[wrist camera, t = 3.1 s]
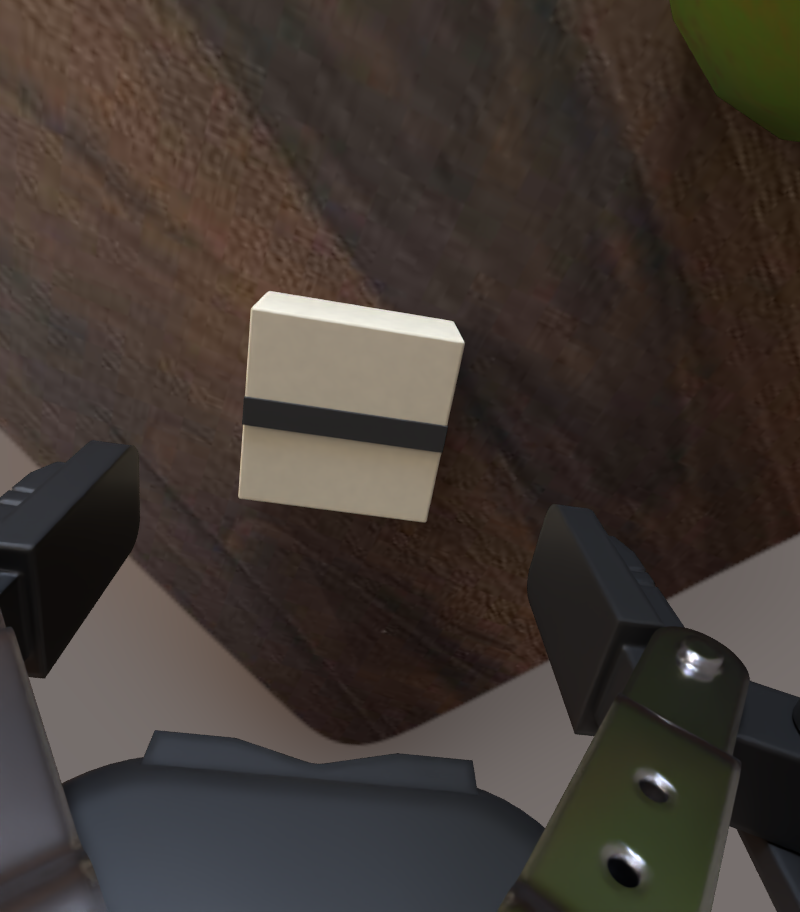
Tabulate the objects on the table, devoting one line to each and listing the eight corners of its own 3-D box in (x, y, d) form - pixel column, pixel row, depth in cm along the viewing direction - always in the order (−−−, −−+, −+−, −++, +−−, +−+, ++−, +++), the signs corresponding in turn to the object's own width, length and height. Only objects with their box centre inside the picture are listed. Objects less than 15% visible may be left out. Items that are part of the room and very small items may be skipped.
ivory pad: (254, 461, 20) (236, 500, 18) (267, 289, 18) (249, 308, 15) (420, 484, 21) (426, 525, 18) (454, 320, 18) (466, 342, 16)
